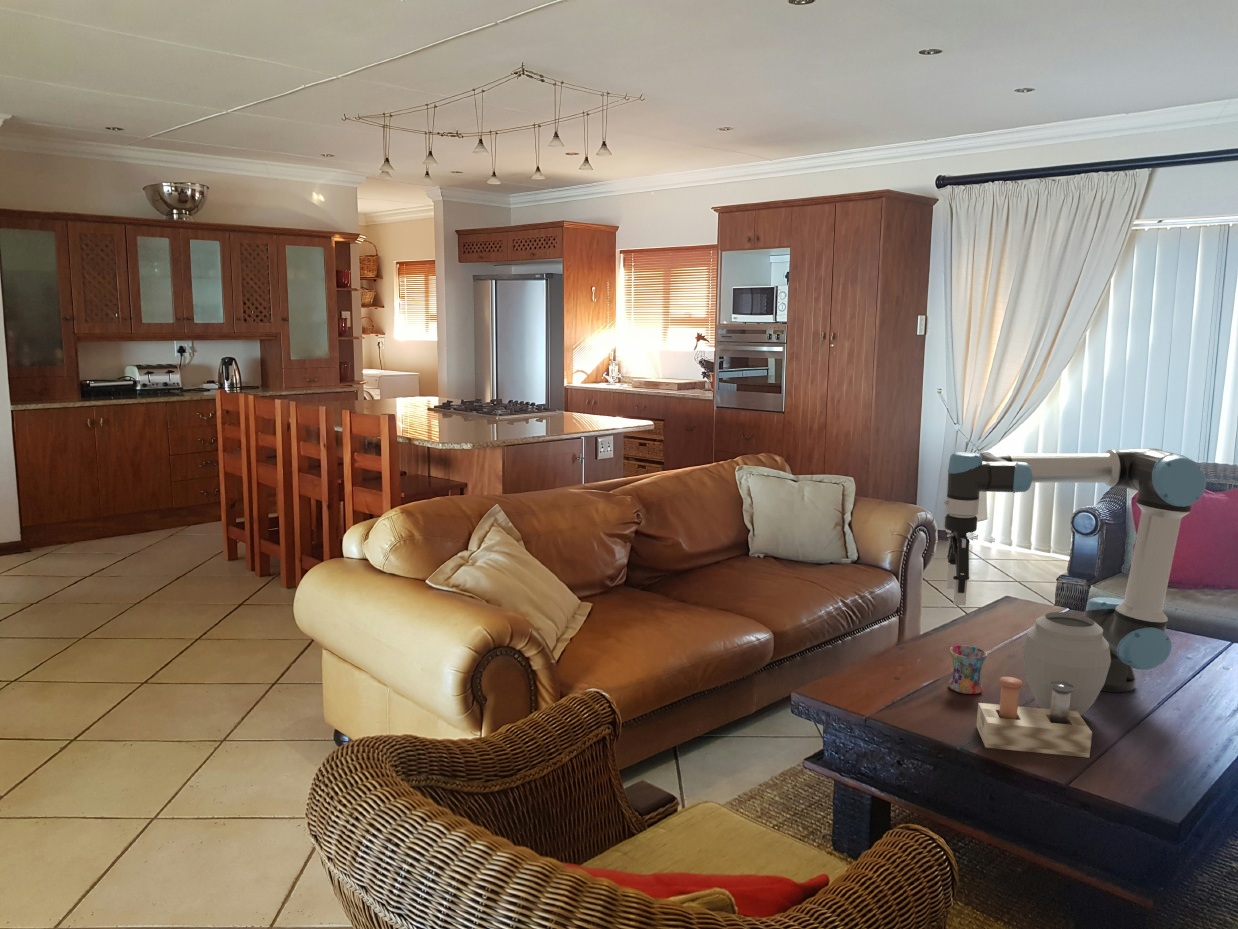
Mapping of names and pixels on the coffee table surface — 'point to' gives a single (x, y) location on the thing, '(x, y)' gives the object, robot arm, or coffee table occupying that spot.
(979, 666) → the mug
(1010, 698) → the terracotta plug
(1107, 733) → the coffee table surface
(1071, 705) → the vase
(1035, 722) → the block
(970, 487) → the robot arm
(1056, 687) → the grey plug
